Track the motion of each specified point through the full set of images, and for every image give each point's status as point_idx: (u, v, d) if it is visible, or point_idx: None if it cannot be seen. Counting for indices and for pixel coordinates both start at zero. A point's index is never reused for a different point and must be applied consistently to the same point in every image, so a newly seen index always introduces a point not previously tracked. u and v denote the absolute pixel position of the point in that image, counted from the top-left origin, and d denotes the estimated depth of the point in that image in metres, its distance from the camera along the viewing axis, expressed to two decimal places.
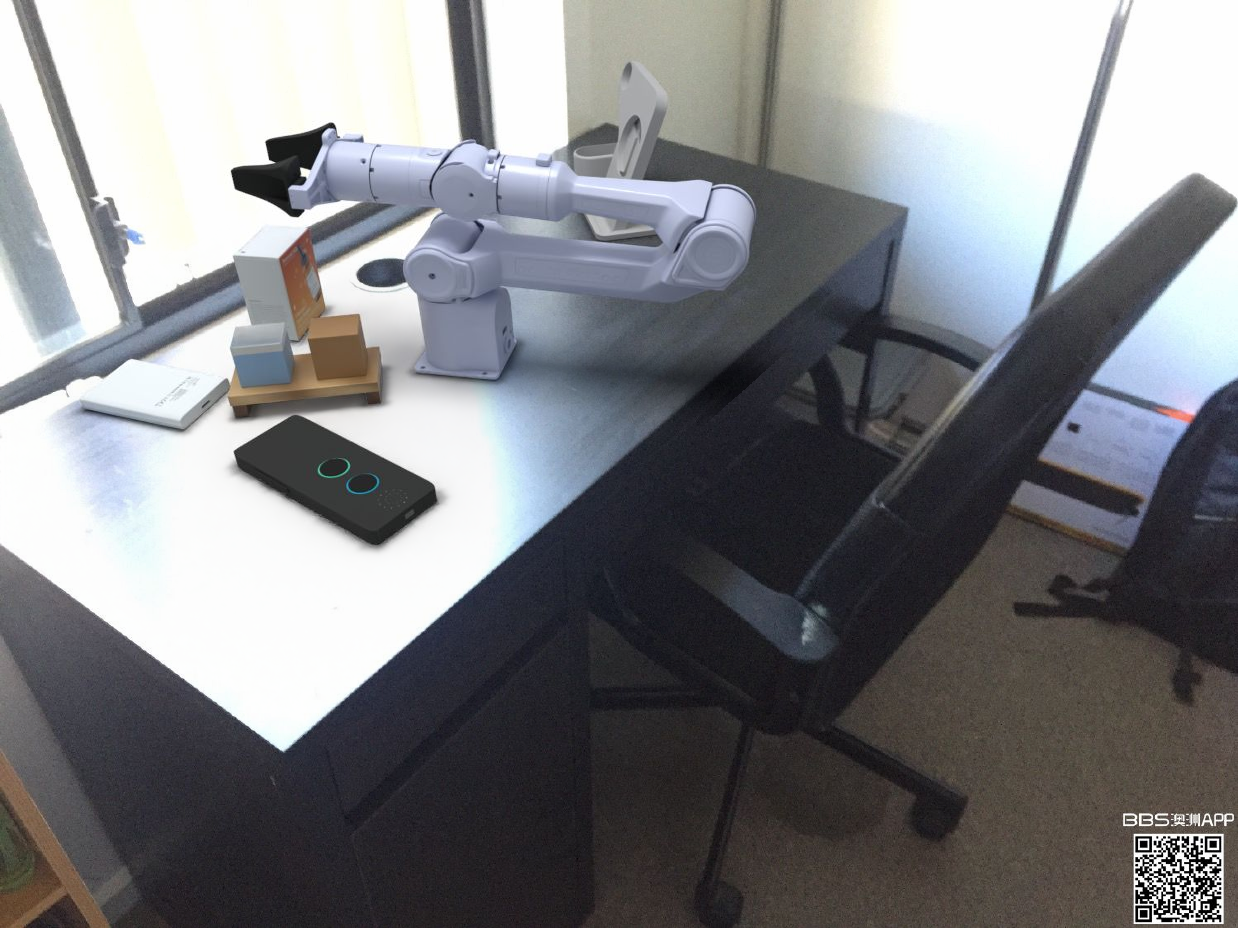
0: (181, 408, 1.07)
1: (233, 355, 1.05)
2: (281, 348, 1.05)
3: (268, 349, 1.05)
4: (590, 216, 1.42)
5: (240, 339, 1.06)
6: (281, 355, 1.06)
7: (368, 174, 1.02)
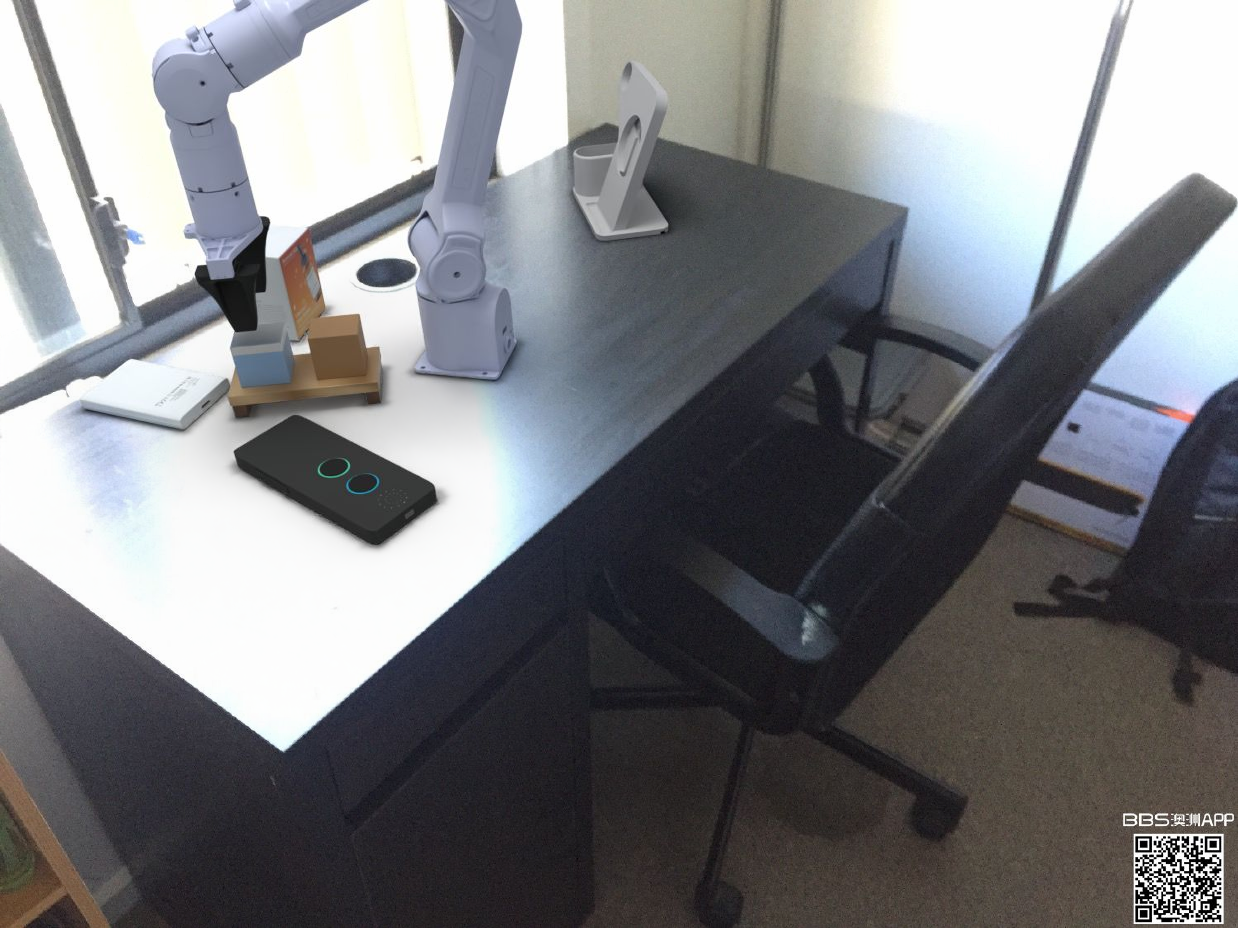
0: (181, 408, 1.07)
1: (233, 355, 1.05)
2: (281, 348, 1.05)
3: (268, 349, 1.05)
4: (590, 216, 1.42)
5: (240, 339, 1.06)
6: (281, 355, 1.06)
7: (200, 193, 0.94)
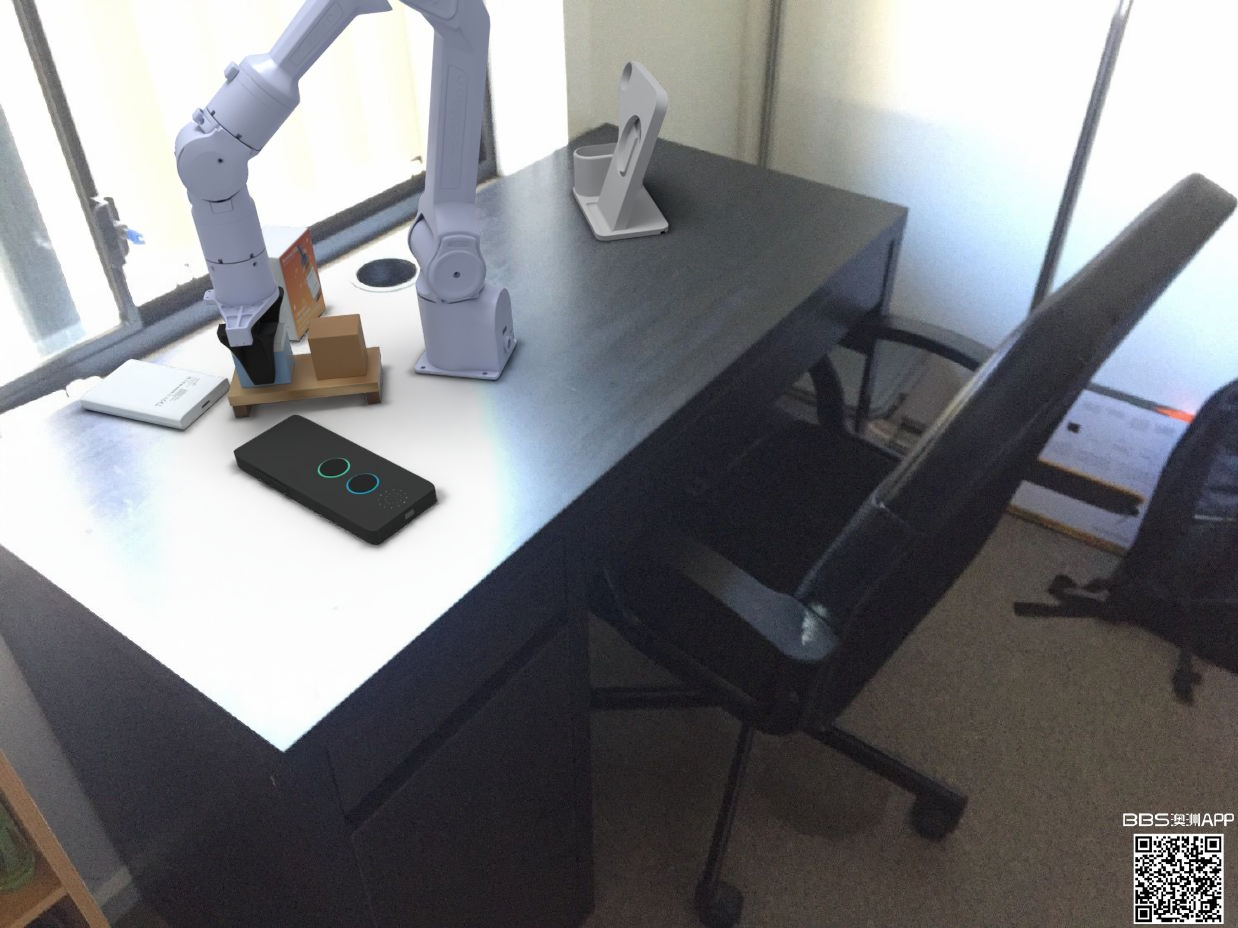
0: (181, 408, 1.07)
1: (233, 356, 1.05)
2: (281, 348, 1.05)
3: None
4: (590, 216, 1.42)
5: None
6: (281, 355, 1.06)
7: (220, 264, 0.99)
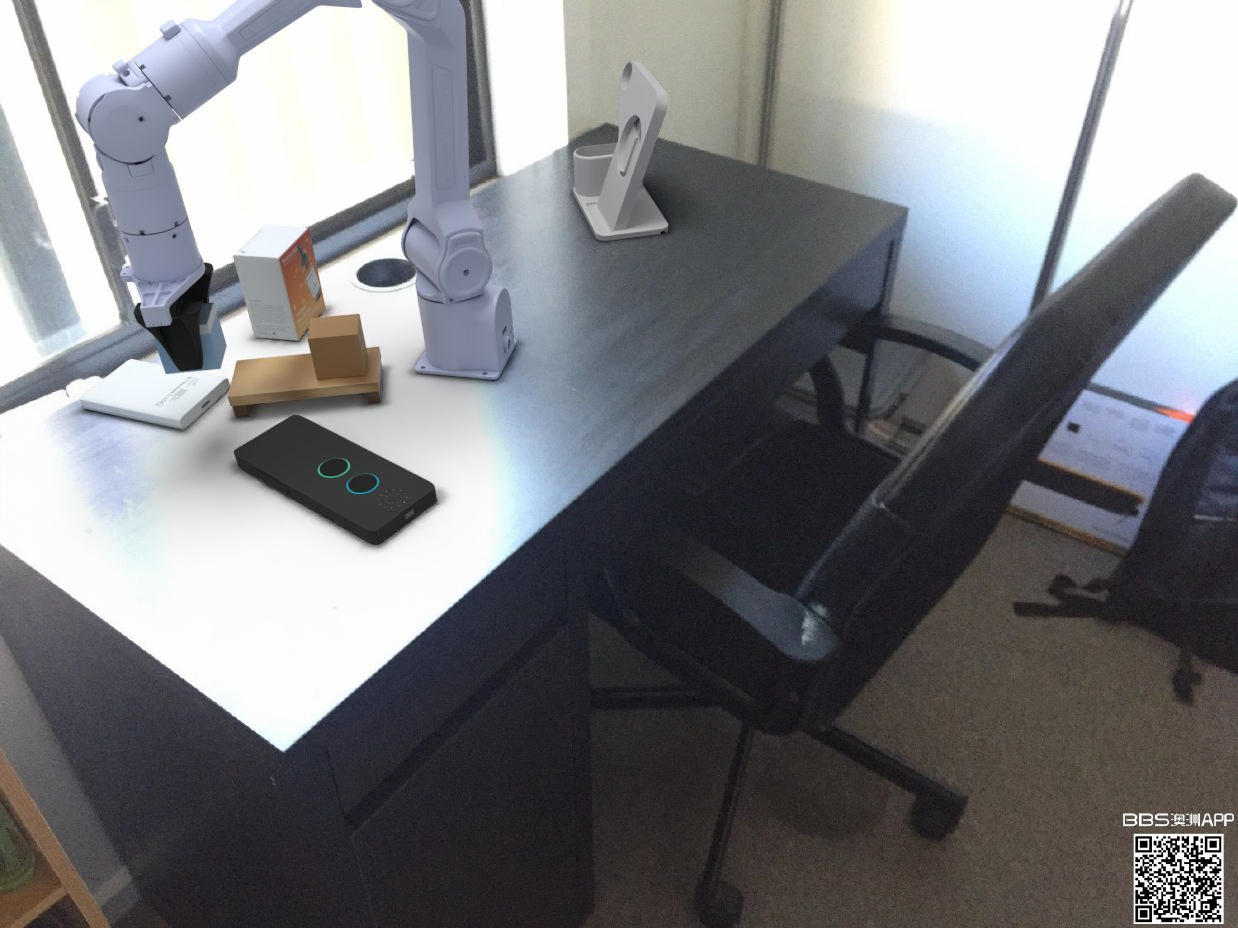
0: (181, 408, 1.07)
1: (154, 338, 0.96)
2: (208, 330, 0.96)
3: None
4: (590, 216, 1.42)
5: None
6: (208, 338, 0.96)
7: (134, 236, 0.89)
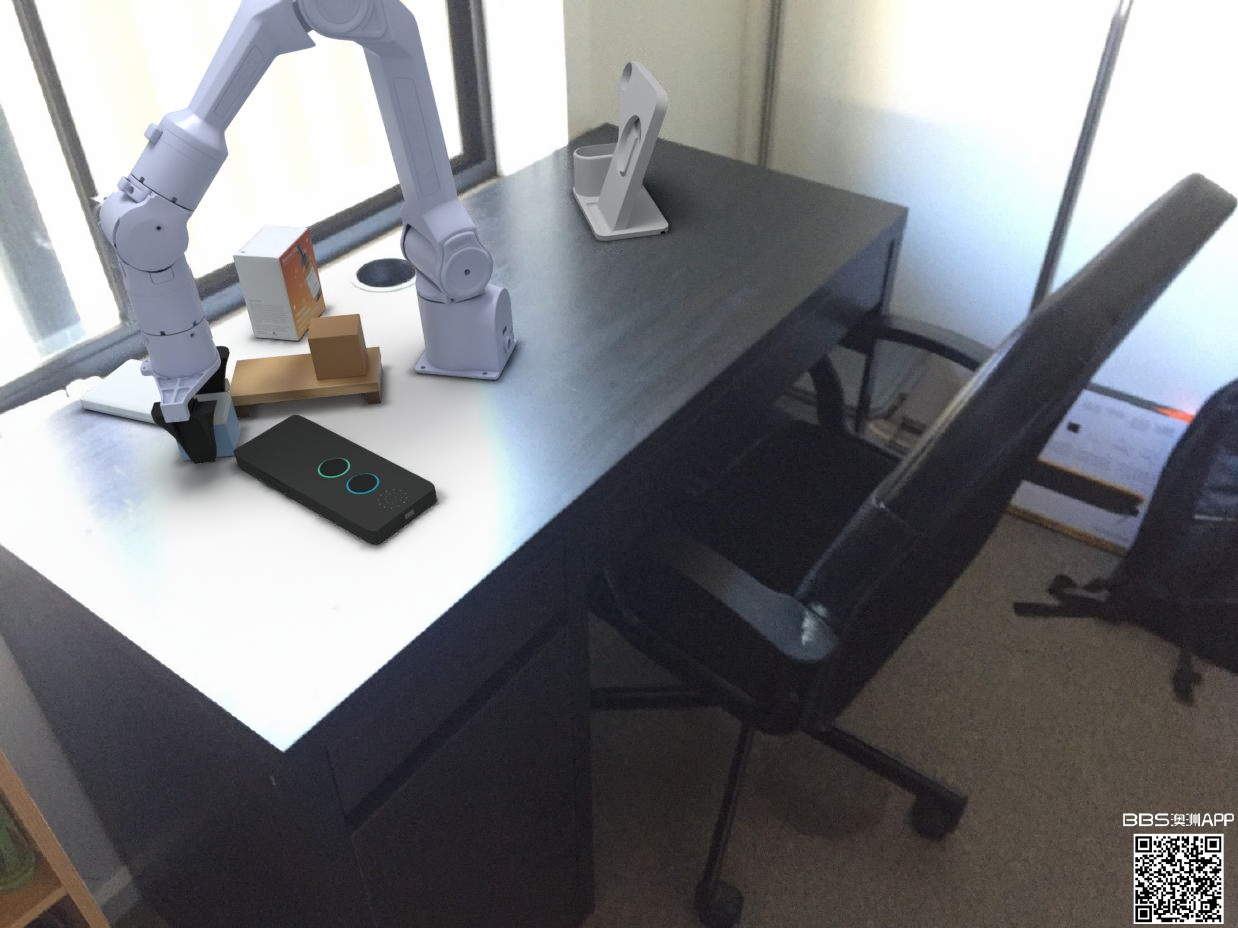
0: None
1: None
2: (224, 420, 1.01)
3: None
4: (590, 216, 1.42)
5: None
6: (224, 428, 1.01)
7: (154, 336, 0.94)
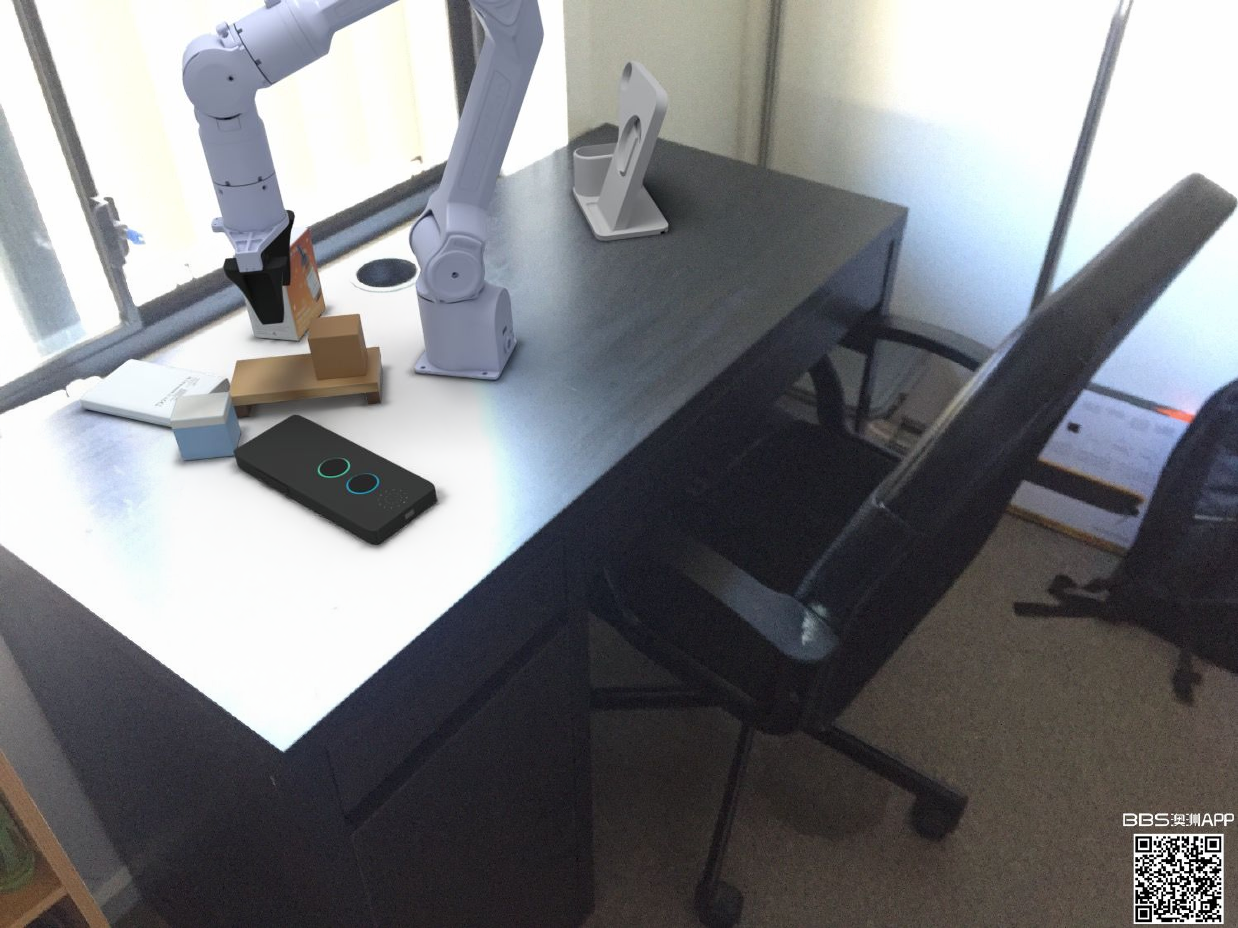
0: None
1: (173, 429, 1.00)
2: (224, 420, 1.01)
3: (210, 422, 1.00)
4: (590, 216, 1.42)
5: (181, 411, 1.01)
6: (224, 428, 1.01)
7: (228, 187, 0.95)
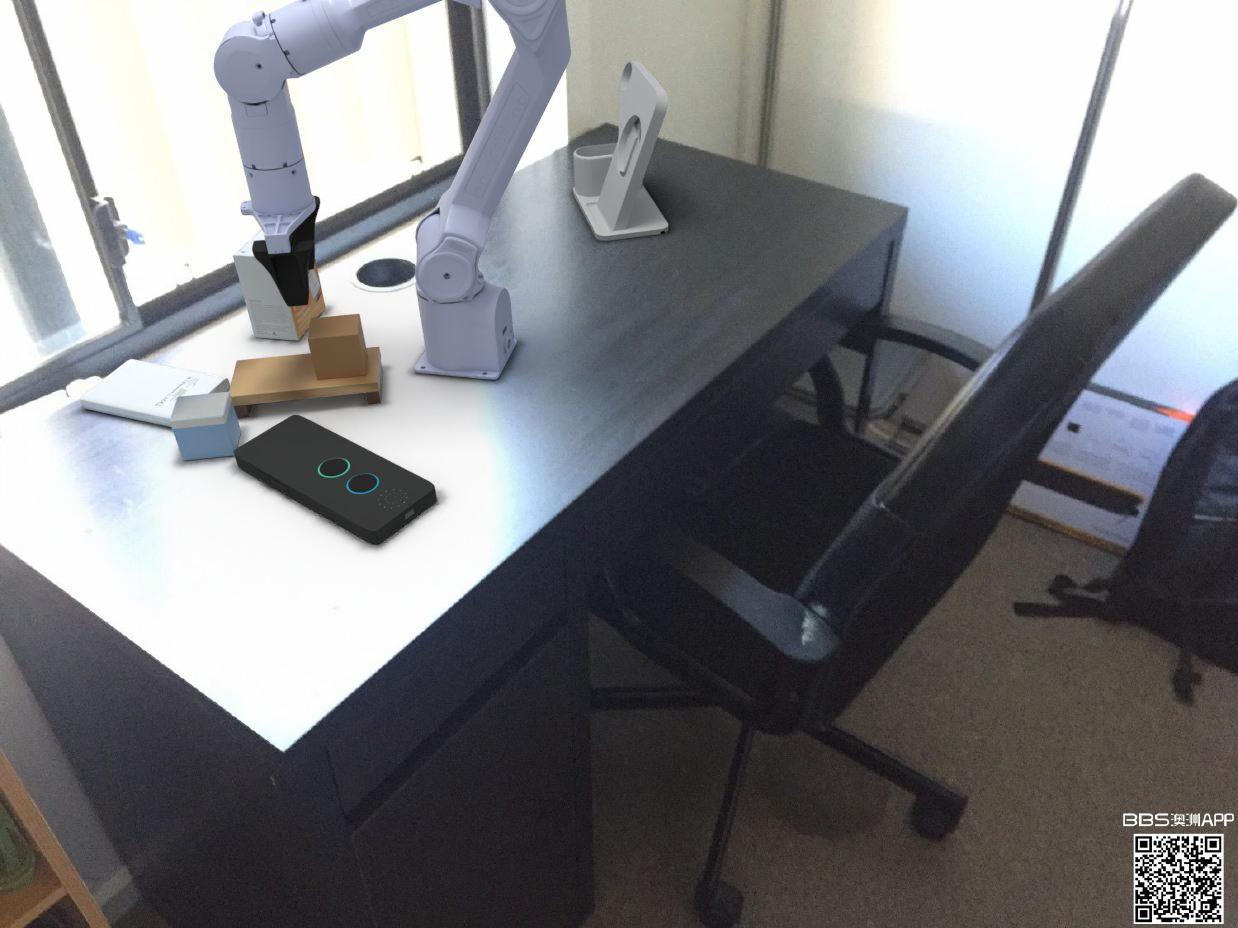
0: None
1: (173, 428, 1.00)
2: (224, 420, 1.01)
3: (210, 422, 1.00)
4: (590, 216, 1.42)
5: (181, 411, 1.01)
6: (224, 428, 1.01)
7: (259, 171, 0.98)
